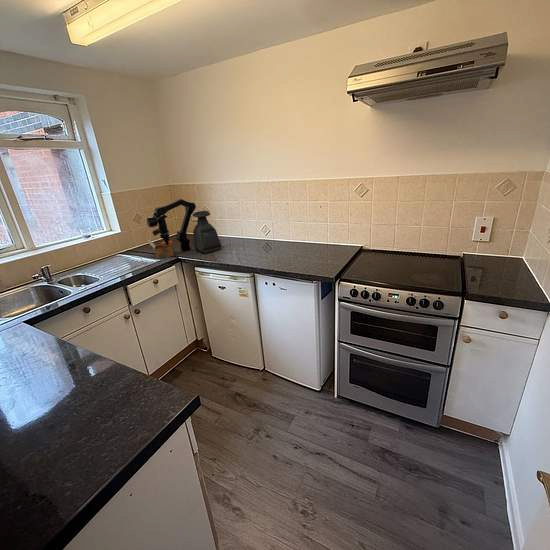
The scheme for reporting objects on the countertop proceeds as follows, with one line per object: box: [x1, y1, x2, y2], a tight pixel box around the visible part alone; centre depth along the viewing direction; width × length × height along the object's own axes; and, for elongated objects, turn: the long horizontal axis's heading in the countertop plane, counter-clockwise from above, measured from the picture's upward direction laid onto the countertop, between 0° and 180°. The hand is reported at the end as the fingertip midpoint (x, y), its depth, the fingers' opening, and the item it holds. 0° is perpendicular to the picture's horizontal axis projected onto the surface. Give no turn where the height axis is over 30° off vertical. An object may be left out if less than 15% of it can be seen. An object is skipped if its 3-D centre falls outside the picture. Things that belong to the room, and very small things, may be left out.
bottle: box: [191, 210, 222, 255], centre depth 228 cm, size 18×16×30 cm
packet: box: [161, 240, 174, 247], centre depth 231 cm, size 8×4×3 cm, turn 109°
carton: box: [154, 244, 176, 260], centre depth 232 cm, size 13×12×8 cm
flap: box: [147, 239, 156, 249], centre depth 227 cm, size 6×12×1 cm
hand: (167, 244), depth 231 cm, fingers closed on packet, 4 cm apart
